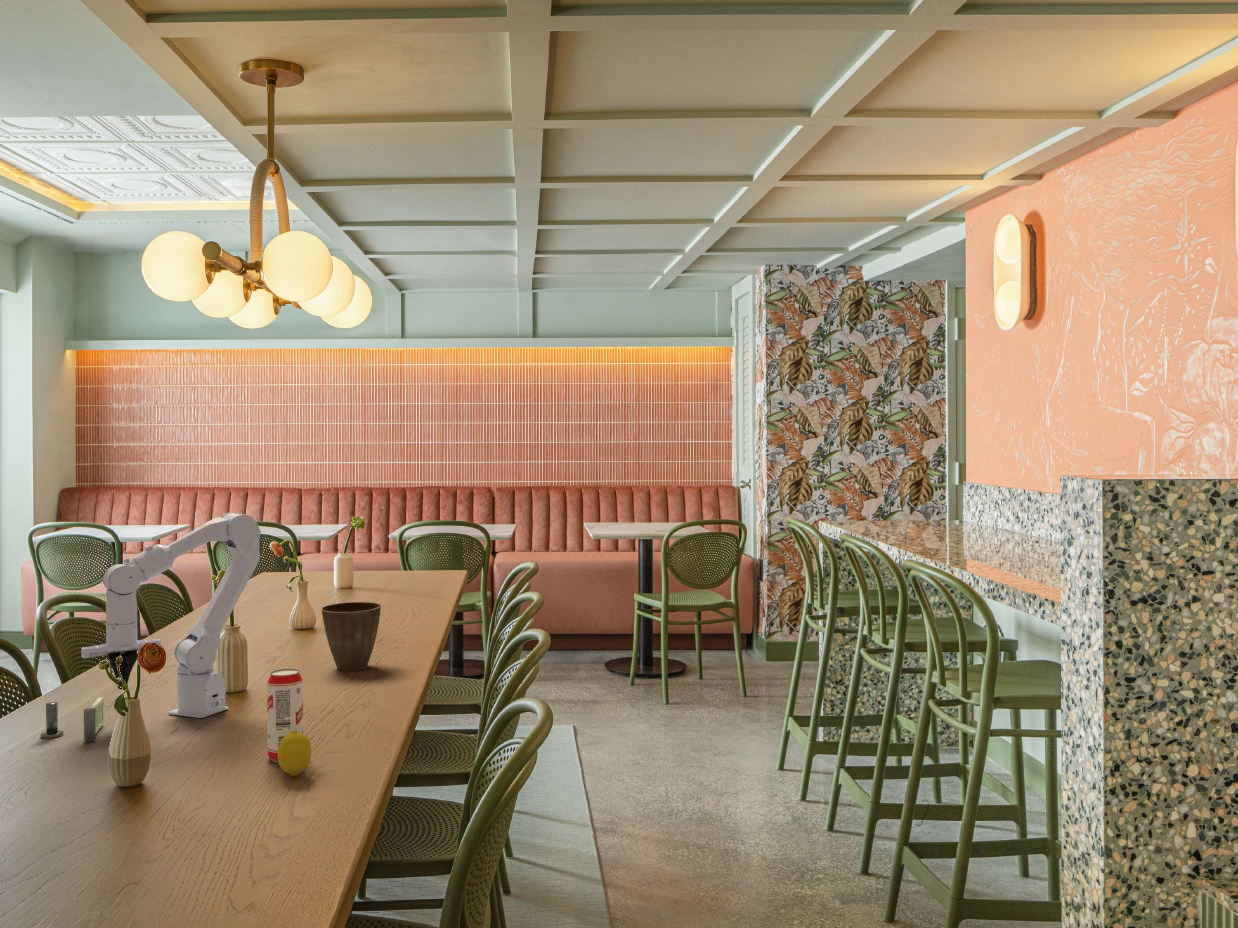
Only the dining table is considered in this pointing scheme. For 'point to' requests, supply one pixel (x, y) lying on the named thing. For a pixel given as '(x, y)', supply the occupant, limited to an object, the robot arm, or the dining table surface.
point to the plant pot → (351, 632)
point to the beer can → (283, 707)
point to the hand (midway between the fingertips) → (122, 688)
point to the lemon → (294, 753)
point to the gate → (93, 719)
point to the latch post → (52, 722)
